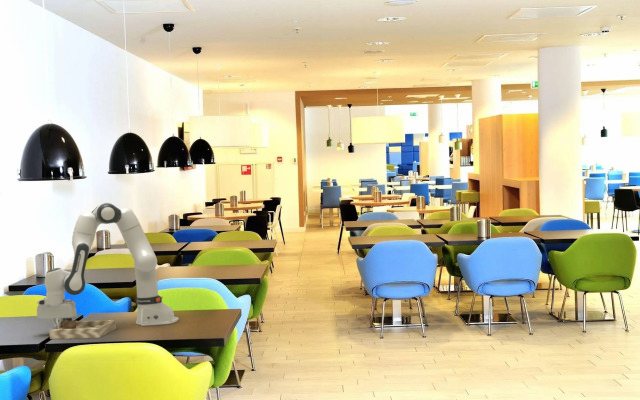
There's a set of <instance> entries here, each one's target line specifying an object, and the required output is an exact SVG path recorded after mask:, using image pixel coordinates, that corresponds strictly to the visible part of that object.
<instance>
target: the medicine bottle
mask: <svg viewBox="0 0 640 400" xmlns="http://www.w3.org/2000/svg"><path fill="white" fill-rule="evenodd" d="M65 321H73V318H63V320H62V322H61V327H56V328H57V329H62V323H63V322H65ZM56 322H57V323H59V320H58V318H56Z"/></svg>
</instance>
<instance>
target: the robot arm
mask: <svg viewBox="0 0 640 400" xmlns="http://www.w3.org/2000/svg"><path fill="white" fill-rule="evenodd" d="M77 217H78V218H77V219H76V222H75V225H74V228H73V232H72V237H71V245H72V248H73V249H72V250H73V253H74V254H73V255H74V256H73V257H74V258H73V261H72V266H71V271H67V270H65V269H63V268H62V267H61V268H60V267H56V268H52V269H49V270H47V271H46V272H45V278H44V282H45V284H44V285H45V286H44V287H45V289H46V293H45V295H46V296H45V297H44V298H41V299H39V300H38V301H37V302H36V303H37V307H36V318H37V319H39V320H45V319H46V320H47V319H51V321H52V323H53V325H54V326H53V327H54V328H57V327H61V322H62V320H63V318H72V319H73V318H75V317H77V309H76V302H75V300H73V299H65V296H66V295H65V292H66V293H67V294H68V295H71V296H78V295H80V294H82V293H83V291H84V290H85V289H86V281H85V271H86V267H87V266H86V265H87V263H88V257H89V254H90V251H91V249H92V247H93V245H94V240H95V237H96V233H97V229H98V227H99V226H100V225H101V224H102V225H103V224H104V225H107V224H109V225H110V224H115V225H116V226H117V227H118V230H119V232H120V234H121V236H122V239H123V241H124V242H125V243H124V244H126V247H127V249H128V252H129V253H130V254H131V257H132V259H133V265H134V266H133V267H134V273H135V283H136V285H135V286H136V307H137V313H136V314H137V315H136V321H135V324H136V325H140V327H141V326H142V327H145V326H147V327H148V326H161V325H171V324H174V323H176V322H178V321H179V319H180V318H179V317H178V316H175V313H174V310H173V308H171V306H168V305H167V304H166V303H164V302H163V296H160V295H159V289H158V287H159V285H158V277H157V270H156V267H157V265H158V259H157V256H156V254H155V252H154V249H153V248H152V245H151V244H150V242H149V240H148V238H147V235H146V234H145V232H144V229H143V228H142V225H141V223H140V220H139V218H138V217H137V215H136V214H135V213H134V211H133V210H132V209H131V208H130V207H123V208H118V207H117V206H115V205H114V204H112V203H110V202H102V203H100V204H99V205H97V206H96V207H95V208H94V209H93V210H92V211H91V212H89V211H85V212H81V213H80V214H79V216H77ZM56 318H58V320H59V323H57V321H56Z"/></svg>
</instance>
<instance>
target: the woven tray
mask: <svg viewBox="0 0 640 400" xmlns="http://www.w3.org/2000/svg"><path fill="white" fill-rule="evenodd" d="M116 325H117V324H116V320H115V319H113V320H111V319H109V320H108V319H107V320H76V329H58V328H57V329H52V328H51V329H49V331H48V332H49V339H50V340H59V339H60V340H65V339H68V340H70V338H71V339H97V338H98V339H99V338H101V337H104V336H105V335H107V334H109V333H111V332H113V331H114V330H116V329H117V326H116Z"/></svg>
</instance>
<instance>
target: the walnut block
mask: <svg viewBox="0 0 640 400" xmlns="http://www.w3.org/2000/svg"><path fill="white" fill-rule="evenodd" d="M76 321H77V320H73V319H72V321H65V322H63V323H62V329H76Z"/></svg>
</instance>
